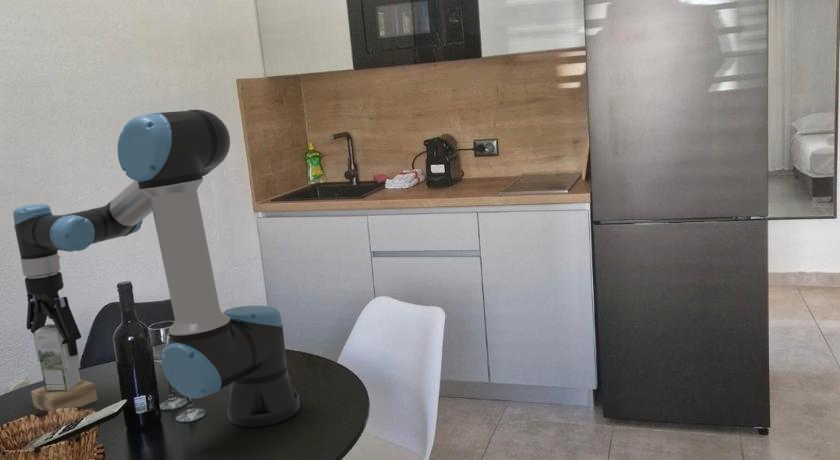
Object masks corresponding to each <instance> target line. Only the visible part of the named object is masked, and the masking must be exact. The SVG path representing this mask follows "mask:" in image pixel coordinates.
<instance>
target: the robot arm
mask: <svg viewBox="0 0 840 460" xmlns="http://www.w3.org/2000/svg"><path fill="white" fill-rule="evenodd" d="M230 147H231V137H230V132H229V130H228V127H227V126H226V125H225V123H224V122H223V120H222V119H221V118H219V117H218V116H217V115H216V114H214V113H212V112H210V111H207V110H203V109H188V110H180V111H179V110H178V111H168V112H167V111H165V112H151V113H148V114H143V115H138V116H135V117H133V118H131V119H130V120H129V121H127V122H126V124H125V125H124V126H123V128H122V131H121V132H120V133H119V136H118V140H117V158H118V162H119V165H120V168H121V170H122V171H123V172H125V175H126V176H127V177H128V178H129V179H131V180H133V181H131V182H130V184H128V186H126V187H125V188H124V189H122V191H121V192H119V194H117V195H116V196H115V197H114V198H113V199H112V200H110V201H109V202H108V203H107V204H105V205H103V206H100V207H95V208H91V209H86V210H81V211H77V212H71V213H66V214H61V215H58V214H56V215H54V214H53V212H52V210H51V207H50V206H49V205H48V204H46V203H38V204H28V205H23V206H19V207H16V208H15V209H14V210H13V222H14V226H13V228H14V230H15V231H14V232H15V237H16V240H17V246H18V249H19V256H20V258H19V259H20V263H21V269H22V274H23V276H24V277H25V278H24V283H25V289H26V298H27V309H26V310H27V312H26V329H27V330H30V332H31V334H32V337H33V341H34V346H35V352H36V358H37V362H40V360H39V355H38V349H37V344H36V339H35V334H34V332H35V331H37V330H38V329H39V328H41V327H43V326H45V325H46V322H47V318H49V320H52V322H53V324H55V325H56V327H57V329H58V331H59V332H60V334H61V336H62V338H63V341H62V344H63V349H64V355H65V361H66V366H67V371H72V370H75V369H77V368H78V369H80V368H81V363H80V356H79V350H78V345H77V341H78V340H79V339H80V340H81V339H82V334H81V332H80V330H79V328H78V324H77V322H76V320H75V317H74V315H73V312H72V310H71V307H70V305H69V300H68V297H67V296H63V297H60V295H59V291H61V290H63V288H64V281H63V275H62V272H61V271H60V270H61V264H60V259H61V256H60V255H59V251H63V252H67V253H70V252H72V253H73V252H79V251H80V252H81V251H84V250H86V249H88V248H89V246H91V245H93V244H94V245H95V244H97V243H98V244H99V243H100V242H104V241H108V240H112V239H113V240H114V239H117V238H121V237H127V236H129V235H131V234H134V233H137V232H138V231H139V230H140V229H141V228H142V224H143V220H144V219H146V218H147V216H149V215H150V214H151V213H152V214H153V220H154V226H155V229H156V235H157V239H158V244H159V245H158V246H159V250H160V254H161V257H162V263H163V268H164V274H165V277H166V283H167V287H168V292H169V298H170V302H171V307H172V308H171V309H172V314H173V317H174V322H173V323H172V325H171V327H170V328H169V329H168V333H169V339H170V344H169V345H168V346H166V347H165V348H164V350H163V352H162V353H163V354H162V355H161V366H162V371H163V373H164V376H165V378H166V380H167V381H168V383H169V384H170V386H172V388H174V389H175V390H176V391H177V392H178V393H180V394H181V395H183V396H184V397H186V398H189V399H202V398H204V397H207V396H209V395H211V394H215V393H217V392H219V391H220V390H222V389H223V388H225V387H227V386H229V385H231V386H230V387H231V388H230V392H229V398H228V403H227V406H226V407H227V408H226V412H227V419H228V421H229V422H230V423H231V424H233V425H235V426H239V427H242V428H258V427H267V426H271V425H275V424H279V423H281V422H284V421H286V420H289V419H291V418H292V417H294V416H295V415H296V414H297V413H298V412H299V410H300V409H301V404H300V403H301V402H300V398H299V394H298V392H297V390H296V387H295V386H294V384H293V381H292V379H291V377H290V375H289V372H288V365H287V355H286V346H285V344H286V343H285V336H284V325H283V322H282V316H281V313H280V311H279V310H278V309H277V308H276V307H273V306H268V305H243V306H242V305H241V306H236V307H231V308H228V309H226V310H225V311H224V312H223V311H222V310H221V308H220V307H221V306H220V303H219V296H218V292H217V287H216V281H215V277H214V270H213V267H212V261H211V256H210V251H209V250H210V249H209V246H208V240H207V234H206V229H205V226H204V220H203V215H202V211H201V204H200V199H199V195H198V189H199V187H200V185H201V184H202V183H203V181H204V176H207V175H208V174H210V173H211V172H212V171H213V170H215V169H216V168H217V167H218V166H219V165H220V164H222V163H223V161H224V160H225V159H226V157H227V156H228V154H229V152H230Z"/></svg>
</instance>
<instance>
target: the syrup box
mask: <svg viewBox="0 0 840 460" xmlns="http://www.w3.org/2000/svg"><path fill="white" fill-rule="evenodd" d="M34 334H35V339H36V344H37V349H38V355H39V360H40V361H39V365H40V370H41V375H42V380H43V384H44V385H43V387H44V386H45V391H68V390H70V389H72V388H73V387H74V386H76V385H77V384H78V383H80V382H81V375H80V370H79V368H77V369H75V370H72V371H67V366H66V361H65V355H64V349H63V344H62V341H63V338H62V336H61V334H60V332H59V331H58V329H57V327H56V325H55V323H52V324H48V323H47V324H45V326H43V327H41V328H39V329H38V330H37V331H35V332H34Z"/></svg>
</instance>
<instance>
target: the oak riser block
mask: <svg viewBox="0 0 840 460" xmlns="http://www.w3.org/2000/svg"><path fill="white" fill-rule="evenodd" d="M80 379H81V378H80ZM30 393H31V394H30V395H31V399H32V405H33V408H34V407H36V408H38V409H40V410H44V411H47V410H54V409H58V408H64V407H79V408H82V407H84V406H88V405H89V404H91V403H94V402H97V401H98V396H97V389H96V383H93V382H90V381H87V380H84V379H81V382H80V383H78V384H77V385H76V386H74V387H73V388H72V389H70V390H68V391H45V386H44V385H43V386H40V387H39V388H36V389H34V390H31V391H30ZM36 408H35V409H36ZM38 409H37V410H38ZM40 410H39V411H40Z"/></svg>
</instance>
